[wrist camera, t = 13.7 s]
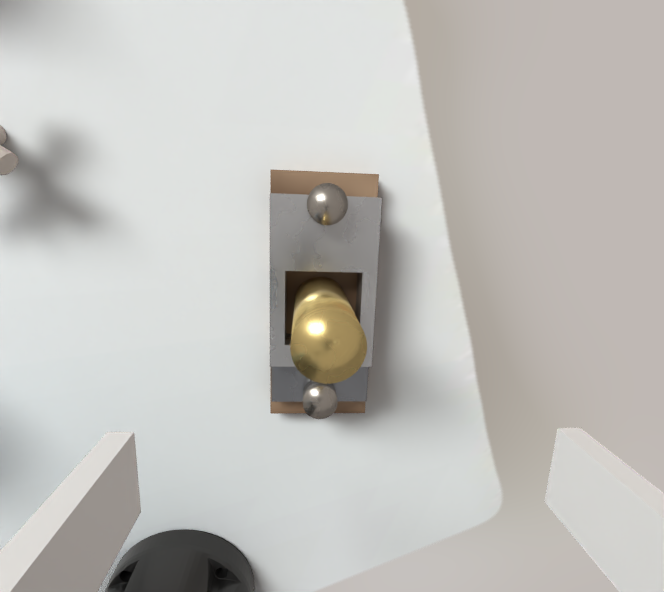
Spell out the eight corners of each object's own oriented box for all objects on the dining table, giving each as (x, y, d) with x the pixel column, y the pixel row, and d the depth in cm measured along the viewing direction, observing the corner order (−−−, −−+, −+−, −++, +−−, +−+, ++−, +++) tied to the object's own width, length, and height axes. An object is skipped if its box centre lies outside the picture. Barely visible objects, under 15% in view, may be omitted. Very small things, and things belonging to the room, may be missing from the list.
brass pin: (343, 326, 34) (364, 384, 23) (294, 324, 34) (289, 383, 22) (346, 277, 34) (369, 311, 22) (295, 275, 33) (291, 309, 21)
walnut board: (361, 402, 38) (364, 412, 37) (272, 402, 38) (270, 413, 36) (374, 176, 34) (378, 174, 32) (272, 172, 33) (270, 169, 31)
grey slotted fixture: (363, 401, 36) (371, 428, 32) (272, 401, 36) (268, 428, 31) (375, 189, 32) (387, 185, 28) (273, 185, 31) (267, 180, 27)
